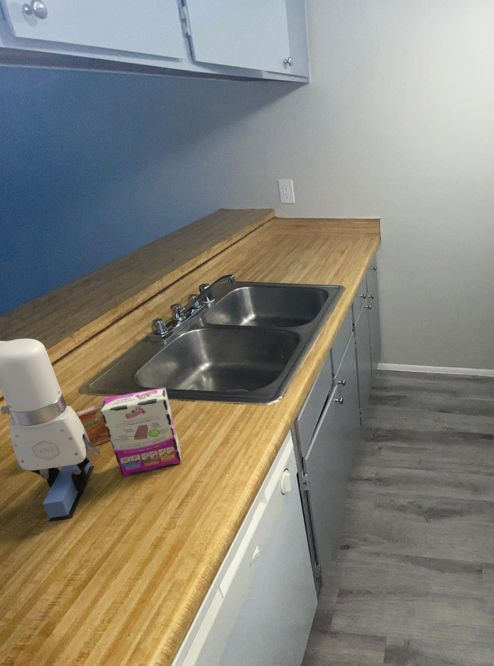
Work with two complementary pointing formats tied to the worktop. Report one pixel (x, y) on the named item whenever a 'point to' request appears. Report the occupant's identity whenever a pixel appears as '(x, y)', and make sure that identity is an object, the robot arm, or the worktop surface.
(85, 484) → the strip
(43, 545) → the worktop surface
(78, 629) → the worktop surface
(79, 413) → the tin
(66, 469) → the stick
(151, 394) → the candy bar box
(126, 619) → the worktop surface
